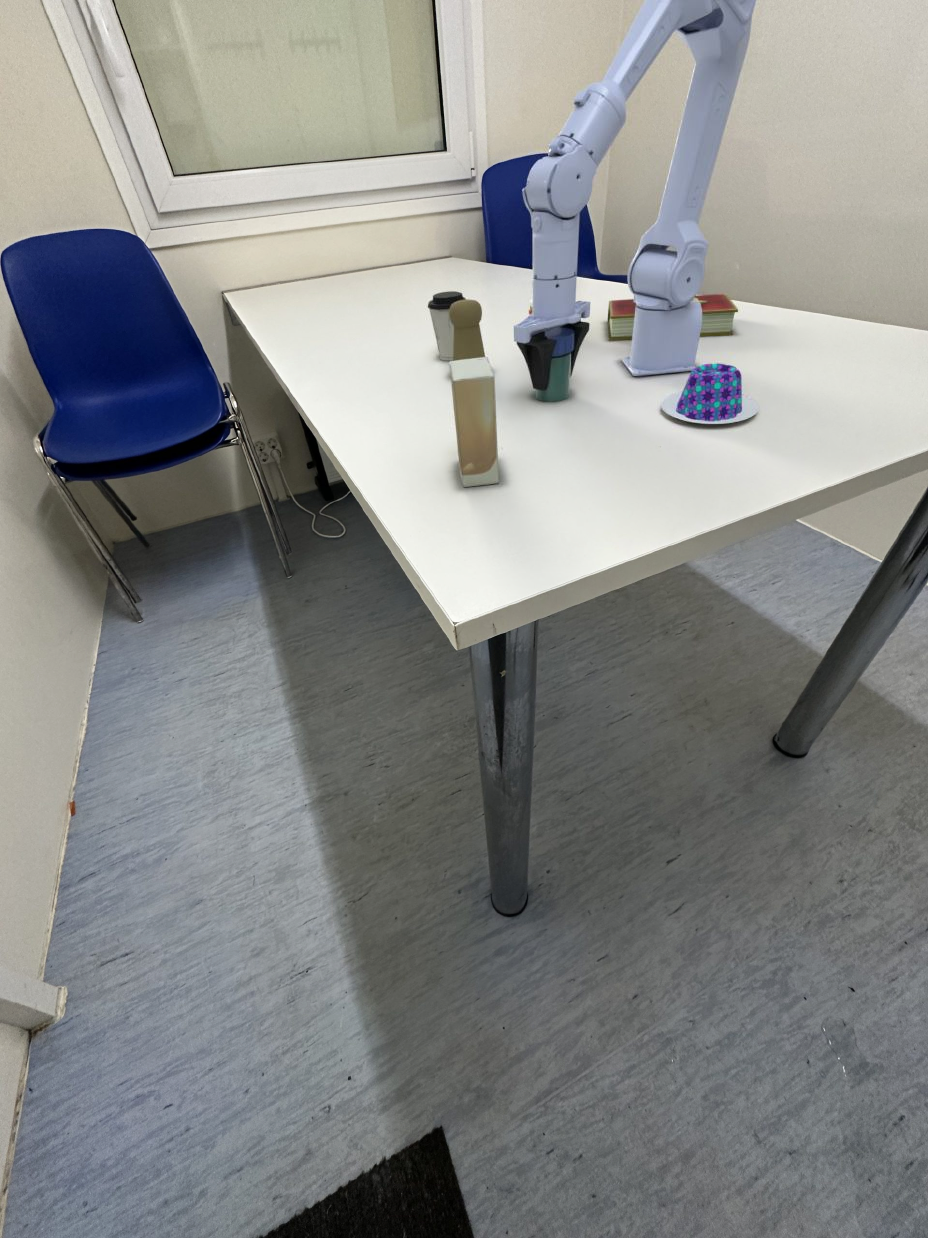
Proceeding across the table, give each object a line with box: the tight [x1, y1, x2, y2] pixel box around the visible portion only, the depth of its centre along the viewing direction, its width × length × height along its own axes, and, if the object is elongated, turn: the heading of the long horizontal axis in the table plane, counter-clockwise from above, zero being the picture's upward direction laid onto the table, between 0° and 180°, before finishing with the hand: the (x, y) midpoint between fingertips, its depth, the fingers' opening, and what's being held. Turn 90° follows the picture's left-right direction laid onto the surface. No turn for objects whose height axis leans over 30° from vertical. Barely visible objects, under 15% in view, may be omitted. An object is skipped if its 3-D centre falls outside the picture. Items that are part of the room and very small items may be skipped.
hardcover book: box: [606, 293, 739, 341], centre depth 100 cm, size 12×21×4 cm, turn 80°
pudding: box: [660, 362, 760, 425], centre depth 70 cm, size 12×12×5 cm
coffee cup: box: [427, 290, 467, 362], centre depth 96 cm, size 7×7×10 cm
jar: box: [535, 352, 571, 403], centre depth 79 cm, size 5×5×8 cm
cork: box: [449, 298, 486, 361], centre depth 88 cm, size 6×6×11 cm
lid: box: [545, 327, 575, 356], centre depth 76 cm, size 6×6×2 cm
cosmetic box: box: [449, 356, 500, 488], centre depth 61 cm, size 6×4×12 cm
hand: (552, 382), depth 80 cm, fingers closed on lid, 5 cm apart
